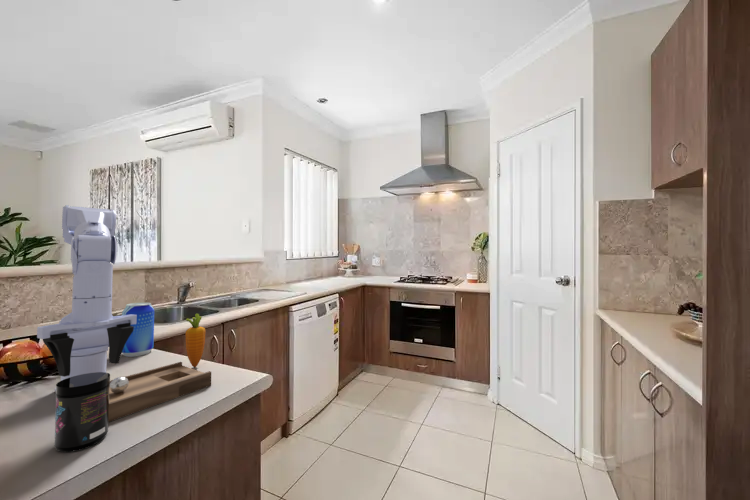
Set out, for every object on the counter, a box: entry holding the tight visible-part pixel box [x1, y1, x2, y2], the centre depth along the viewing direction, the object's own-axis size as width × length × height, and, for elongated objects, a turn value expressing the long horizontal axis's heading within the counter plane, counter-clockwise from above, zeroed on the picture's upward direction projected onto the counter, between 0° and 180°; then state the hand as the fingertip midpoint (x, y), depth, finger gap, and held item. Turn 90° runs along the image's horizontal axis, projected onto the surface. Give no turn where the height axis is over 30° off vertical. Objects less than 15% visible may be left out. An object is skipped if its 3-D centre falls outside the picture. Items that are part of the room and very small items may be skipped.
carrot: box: [185, 313, 207, 368], centre depth 89 cm, size 5×5×15 cm
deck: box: [108, 361, 212, 423], centre depth 71 cm, size 14×21×3 cm, turn 149°
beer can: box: [121, 302, 155, 358], centre depth 102 cm, size 8×8×16 cm
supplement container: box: [53, 371, 111, 453], centre depth 53 cm, size 7×7×10 cm
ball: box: [109, 376, 129, 393], centre depth 66 cm, size 3×3×3 cm
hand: (90, 368), depth 60 cm, fingers open, 7 cm apart
